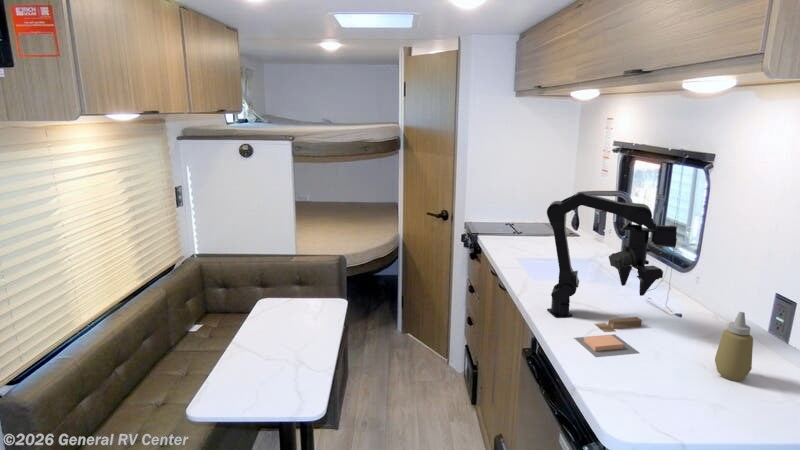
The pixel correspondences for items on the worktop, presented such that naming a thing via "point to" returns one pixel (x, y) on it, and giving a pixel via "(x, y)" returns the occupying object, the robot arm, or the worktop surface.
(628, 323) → the turner
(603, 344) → the tile
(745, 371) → the squeeze bottle
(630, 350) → the mat
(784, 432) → the worktop surface
